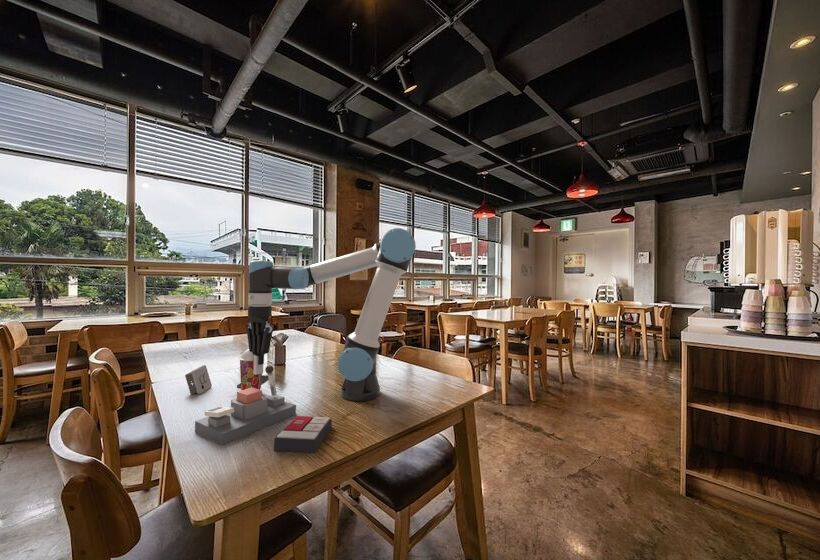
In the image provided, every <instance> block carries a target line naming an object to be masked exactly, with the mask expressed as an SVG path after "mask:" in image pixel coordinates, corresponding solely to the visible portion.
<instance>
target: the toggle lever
mask: <svg viewBox="0 0 820 560" xmlns="http://www.w3.org/2000/svg"><path fill="white" fill-rule="evenodd" d="M265 372H266V374H267V376H268V378H269V379H268V383H269V389H270V392H271V395H272V396H275V395H278V393H277V387H276V384H275V383H276V382H275V377H274V367H273V365H270V364H269V365H267V366H266V367H265Z"/></svg>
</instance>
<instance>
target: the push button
mask: <svg viewBox="0 0 820 560" xmlns="http://www.w3.org/2000/svg"><path fill="white" fill-rule="evenodd" d="M262 396H263V390H262V389H260V390H259V389H256V388H253V387H251V388H248V389H245V390H241V389H240V390H237V391H236V398H237V401H238V402H241V403H244V404H249V403H252V402H255V401H258V400H261V399H262Z"/></svg>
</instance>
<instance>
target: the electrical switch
mask: <svg viewBox="0 0 820 560" xmlns="http://www.w3.org/2000/svg"><path fill="white" fill-rule="evenodd" d="M184 377H185V380H186V383H187V387H188V389H189V390H188V391H189V393H190V395H194V394H196V395H201V394H203V393H204V392H206V391H207V390H208V389H210V388H212V386H213V385H212V381H211V379H210V373H209V372H208V368H207V365H206V364H204V365H200V366H199V367H197V368H195V369H193V370H191V371H190V372H188V373H186V374H185V375H184Z"/></svg>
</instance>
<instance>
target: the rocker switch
mask: <svg viewBox="0 0 820 560" xmlns="http://www.w3.org/2000/svg"><path fill="white" fill-rule="evenodd" d="M233 412H234V408H231V406H230V407H229V406H218V407H215V408H211V409H208V410H205V411H204V416H205V417H208V416H210V417H221V416H224V415H227V414H230V413H233Z"/></svg>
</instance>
